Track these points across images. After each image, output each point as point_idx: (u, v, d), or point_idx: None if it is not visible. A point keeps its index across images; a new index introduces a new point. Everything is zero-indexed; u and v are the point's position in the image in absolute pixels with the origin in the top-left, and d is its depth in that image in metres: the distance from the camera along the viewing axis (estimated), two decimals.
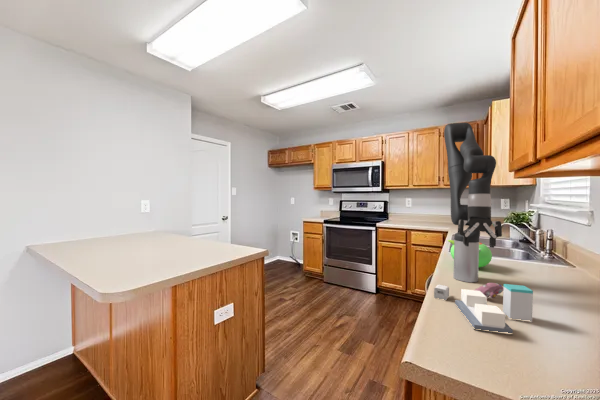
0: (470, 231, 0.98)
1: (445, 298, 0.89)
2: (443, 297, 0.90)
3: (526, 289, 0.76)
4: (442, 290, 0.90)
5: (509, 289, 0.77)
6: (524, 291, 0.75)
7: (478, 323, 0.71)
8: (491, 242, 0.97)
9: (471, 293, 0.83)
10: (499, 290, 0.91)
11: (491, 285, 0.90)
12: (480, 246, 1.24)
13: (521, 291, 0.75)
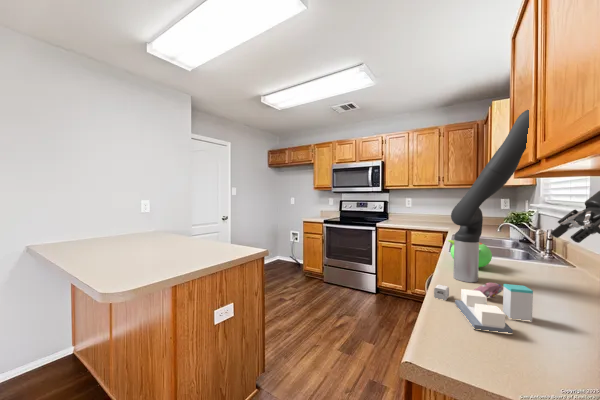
0: None
1: (445, 298, 0.89)
2: (443, 297, 0.90)
3: (526, 289, 0.76)
4: (442, 290, 0.90)
5: (509, 289, 0.77)
6: (524, 291, 0.75)
7: (478, 323, 0.71)
8: (561, 232, 0.78)
9: (471, 293, 0.83)
10: (498, 290, 0.91)
11: (490, 285, 0.90)
12: (480, 246, 1.24)
13: (521, 291, 0.75)
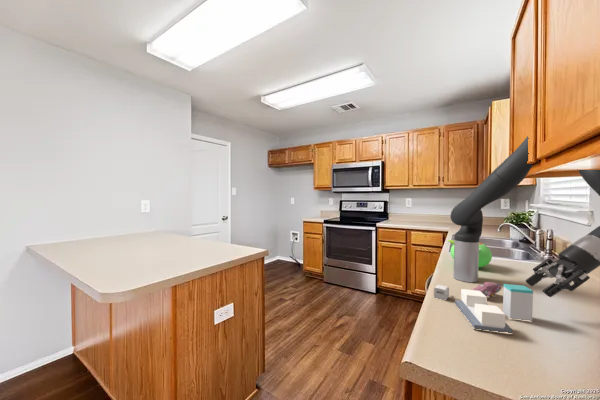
0: None
1: (445, 298, 0.89)
2: (443, 297, 0.90)
3: (526, 289, 0.76)
4: (442, 290, 0.90)
5: (509, 289, 0.77)
6: (524, 291, 0.75)
7: (478, 323, 0.71)
8: (535, 281, 0.79)
9: (471, 293, 0.83)
10: (497, 289, 0.92)
11: (489, 284, 0.91)
12: (480, 246, 1.24)
13: (521, 291, 0.75)
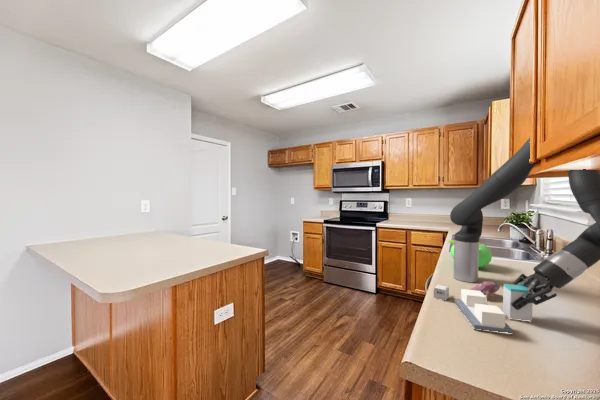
0: None
1: (445, 298, 0.89)
2: (443, 297, 0.90)
3: None
4: (442, 290, 0.90)
5: (509, 289, 0.77)
6: (524, 291, 0.75)
7: (478, 323, 0.71)
8: None
9: (471, 293, 0.83)
10: (495, 289, 0.92)
11: (487, 284, 0.91)
12: (480, 246, 1.24)
13: (521, 291, 0.75)
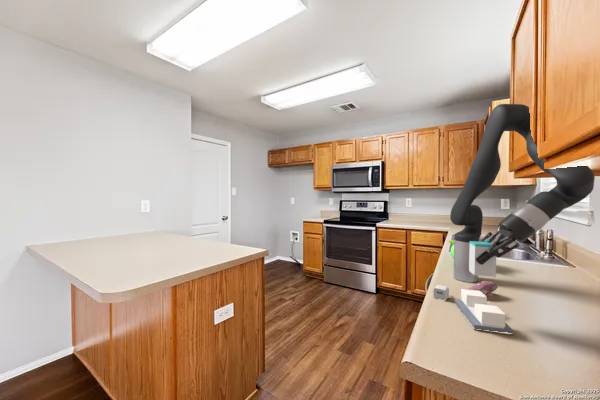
0: None
1: (445, 298, 0.89)
2: (443, 297, 0.89)
3: None
4: (442, 290, 0.90)
5: (474, 244, 0.76)
6: (488, 245, 0.74)
7: (478, 323, 0.71)
8: None
9: (471, 293, 0.83)
10: (493, 288, 0.93)
11: (485, 283, 0.92)
12: None
13: (485, 246, 0.74)
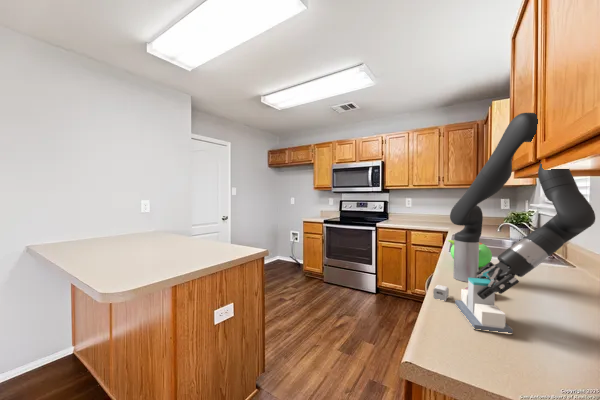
0: None
1: (444, 299, 0.89)
2: (442, 298, 0.89)
3: (489, 282, 0.75)
4: (441, 291, 0.89)
5: (472, 282, 0.77)
6: (486, 284, 0.75)
7: (478, 323, 0.71)
8: None
9: None
10: None
11: None
12: (480, 246, 1.24)
13: (483, 285, 0.75)
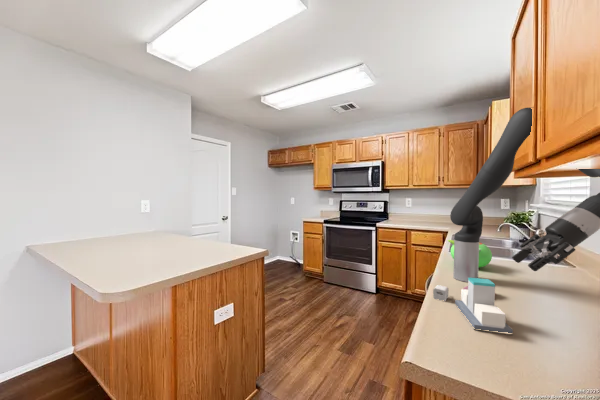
0: None
1: (444, 299, 0.89)
2: (442, 298, 0.89)
3: (489, 282, 0.75)
4: (441, 291, 0.89)
5: (472, 282, 0.77)
6: (486, 284, 0.75)
7: (478, 323, 0.71)
8: (522, 257, 0.77)
9: None
10: None
11: None
12: (480, 246, 1.24)
13: (483, 285, 0.75)
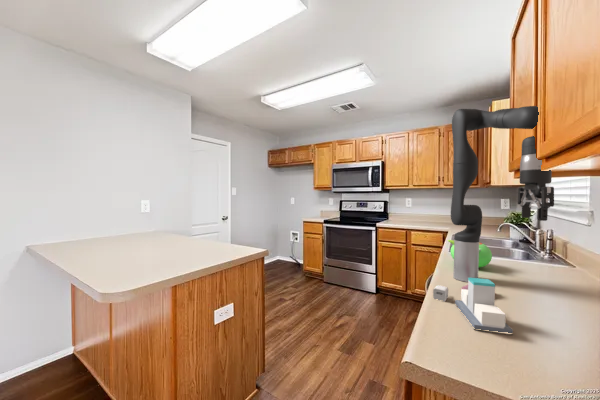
0: None
1: (444, 299, 0.89)
2: (442, 298, 0.89)
3: (489, 282, 0.75)
4: (441, 291, 0.89)
5: (472, 282, 0.77)
6: (486, 284, 0.75)
7: (478, 323, 0.71)
8: (528, 212, 0.85)
9: None
10: None
11: None
12: (480, 246, 1.24)
13: (483, 285, 0.75)
